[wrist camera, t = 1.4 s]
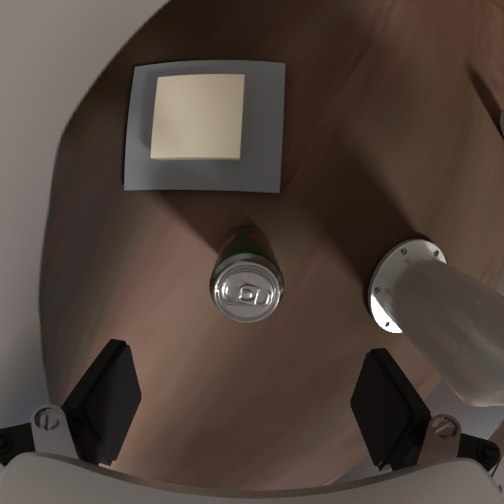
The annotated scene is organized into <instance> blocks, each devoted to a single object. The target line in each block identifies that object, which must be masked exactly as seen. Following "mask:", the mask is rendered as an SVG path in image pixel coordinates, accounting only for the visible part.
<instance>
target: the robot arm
mask: <svg viewBox="0 0 504 504" xmlns="http://www.w3.org/2000/svg"><path fill="white" fill-rule="evenodd" d="M368 306H369V310H370V313H371V315H372V317H373V318H374V320H375V321H376V322H377V323H378V325H379V326H380V327H382V328H383V329H385V330H387V331H390V332H396V333H399V332H403V334H404V335H405V336H406V337H407V338H408V339H409V340H410V341H411V342H412V343H413V345H414V346H415V347H416V348H417V349H418V350H419V351H420V352H421V353H422V355H423V356H424V357H425V358H426V359H427V360H428V361H429V362H430V364H431V365H432V366H433V367H434V368H435V369H436V371H437V372H438V373H439V374H440V375H441V376H442V378H443V379H444V380H445V381H446V382H447V383H448V385H449V386H450V387H451V388H452V389H453V390H454V392H456V394H457V395H458V396H459V397H460V398H461V399H462V400H463V401H465V402H466V403H468V404H470V405H473V406H480V407H484V406H494V405H503V406H504V295H502V294H501V293H499V292H497V291H495V290H494V289H492V288H490V287H489V286H487V285H485V284H483V283H481V282H480V281H478V280H476V279H474V278H472V277H471V276H469V275H467V274H465V273H463V272H461V271H459V270H457V269H456V268H454V267H452V266H450V265H448V264H447V262H446V260H445V257H444V255H443V253H442V251H441V250H440V249H439V248H438V247H437V246H436V245H435V244H433V243H431V242H429V241H426V240H424V239H409V240H406V241H404V242H401V243H399V244H398V245H396V246H395V247H393V248H392V249H391V250H390V251H389V252H388V253H386V254H385V256H384V257H383V258H382V259H381V261H380V262H379V264H378V265H377V267H376V269H375V271H374V273H373V275H372V278H371V280H370V285H369V289H368ZM140 401H141V391H140V387H139V383H138V379H137V375H136V371H135V367H134V362H133V358H132V353H131V349H130V346H129V345H127V344H126V342H125V341H122V340H116V339H111V340H110V341H109V342H108V343H107V344H106V346H105V347H104V348H103V350H102V351H101V352H100V354H99V355H98V356H97V358H96V359H95V360H94V362H93V363H92V364H91V366H90V367H89V368H88V370H87V371H86V372H85V374H84V375H83V377H82V378H81V379H80V381H79V382H78V384H77V385H76V386H75V388H74V389H73V391H72V392H71V393H70V395H69V396H68V398H67V399H66V401H65V402H64V404H63V405H62V406H61V408H59V407H57V406H55V405H43V406H40V407H39V408H37V409H36V410H35V411H34V412H33V414H32V416H31V422H30V423H26V424H22V425H18V426H13V427H8V428H4V429H0V504H504V419H503V420H502V422H501V423H500V424H499V426H498V428H497V429H496V430H495V431H494V432H493V434H492V435H491V436H490V437H489V438H488V440H485V439H481V438H477V437H474V436H470V435H467V434H463V433H461V426H460V424H459V422H458V421H457V420H456V419H455V418H454V417H452V416H449V415H445V414H440V415H436V416H434V417H433V418H432V417H431V415H430V413H431V412H430V411H429V409H428V408H427V406H426V405H425V403H424V402H423V400H422V399H421V397H420V396H419V394H418V393H417V391H416V390H415V389H414V387H413V386H412V384H411V383H410V381H409V380H408V379H407V377H406V376H405V374H404V373H403V371H402V370H401V369H400V367H399V366H398V365H397V363H396V362H395V360H394V359H393V358H392V356H391V355H390V354H389V352H388V351H387V349H385V348H378V349H372V350H371V351H370V352H369V353H367V354H366V356H365V360H364V363H363V366H362V369H361V372H360V375H359V378H358V381H357V384H356V387H355V390H354V392H353V395H352V398H351V408H352V411H353V413H354V415H355V418H356V420H357V423H358V425H359V428H360V430H361V433H362V435H363V438H364V441H365V443H366V446H367V448H368V451H369V453H370V456H371V458H372V461H373V463H374V465H375V466H378V468H379V470H380V472H381V471H384V470H388V469H391V468H392V470H393V471H392V472H389V473H385V474H382V475H377V476H373V477H369V478H364V479H360V480H355V481H350V482H346V483H340V484H334V485H327V486H320V487H312V488H303V489H291V490H274V491H235V490H218V489H206V488H197V487H189V486H182V485H175V484H169V483H164V482H159V481H154V480H149V479H145V478H140V477H136V476H132V475H128V474H124V473H121V472H117V471H114V470H110V469H107V468H104V467H101V466H98V465H99V463H102V464H105V465H108V466H110V465H111V463H112V460H114V461H115V460H116V459H117V457H118V455H119V452H120V450H121V447H122V445H123V442H124V440H125V437H126V435H127V432H128V430H129V427H130V425H131V423H132V420H133V418H134V415H135V413H136V411H137V408H138V406H139V404H140Z"/></svg>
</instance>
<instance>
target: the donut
mask: <svg viewBox="0 0 504 504" xmlns="http://www.w3.org/2000/svg"><path fill="white" fill-rule="evenodd" d="M500 127H501V131H502V133H503V136H504V110H503V111H502V112H501V116H500Z"/></svg>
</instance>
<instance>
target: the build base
mask: <svg viewBox="0 0 504 504" xmlns="http://www.w3.org/2000/svg"><path fill="white" fill-rule="evenodd" d="M284 93H285V63H277V62H265V61H249V60H197V61H181V62H169V63H159V64H151V65H144V66H137V67H135V71H134V77H133V83H132V90H131V98H130V106H129V114H128V125H127V136H126V152H125V176H124V190H224V191H249V192H268V193H280V178H281V160H282V140H283V118H284Z"/></svg>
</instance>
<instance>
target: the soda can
mask: <svg viewBox="0 0 504 504" xmlns="http://www.w3.org/2000/svg"><path fill="white" fill-rule="evenodd" d="M283 291H284V281H283V277H282V273H281V271H280V268H279V266H278V263H277V260H276V258H275V255H274V253H273V250H272V248H271V245H270V242H269V240H268V238H267V236H266V235H265V234H264V233H263V232H262V231H261V230H259V229H258V228H256V227H253V226H239V227H236V228H234V229H232V230H231V231H230V232H229V233H228V234H227V235H226V236H225V238H224V240H223V242H222V245H221V248H220V251H219V254H218V257H217V260H216V263H215V266H214V269H213V272H212V275H211V279H210V294H211V297H212V299H213V302H214V303H215V305H216V306H217V307H218V309H219V310H220V311H221V312H222V314H224V315H225V316H226V317H227V318H229V319H231V320H233V321H236V322H240V323H254V322H258V321H261V320H263V319H265V318H266V317H268V316H269V315H270V314H271V313H272V312H273V311H274V310H275V308H276V307H277V305H278V304H279V302H280V301H281V298H282V296H283Z"/></svg>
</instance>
